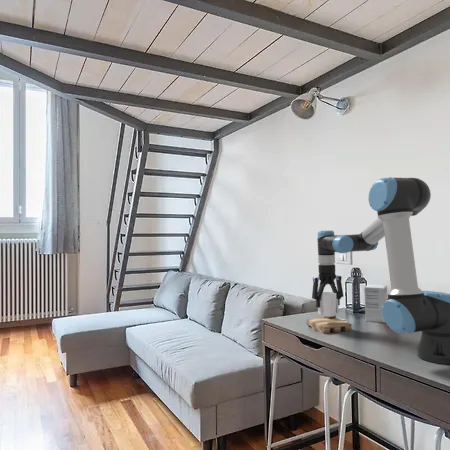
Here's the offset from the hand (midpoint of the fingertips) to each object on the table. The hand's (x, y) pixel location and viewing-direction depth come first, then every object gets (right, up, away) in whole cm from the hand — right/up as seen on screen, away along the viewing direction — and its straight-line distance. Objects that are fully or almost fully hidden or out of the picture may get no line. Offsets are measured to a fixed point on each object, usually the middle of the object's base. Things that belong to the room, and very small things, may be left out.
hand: (328, 313), depth 188 cm
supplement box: (+27, -6, +14) cm, 31 cm away
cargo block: (+3, -4, +8) cm, 10 cm away
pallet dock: (+1, -7, +2) cm, 7 cm away
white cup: (0, -1, 0) cm, 1 cm away
